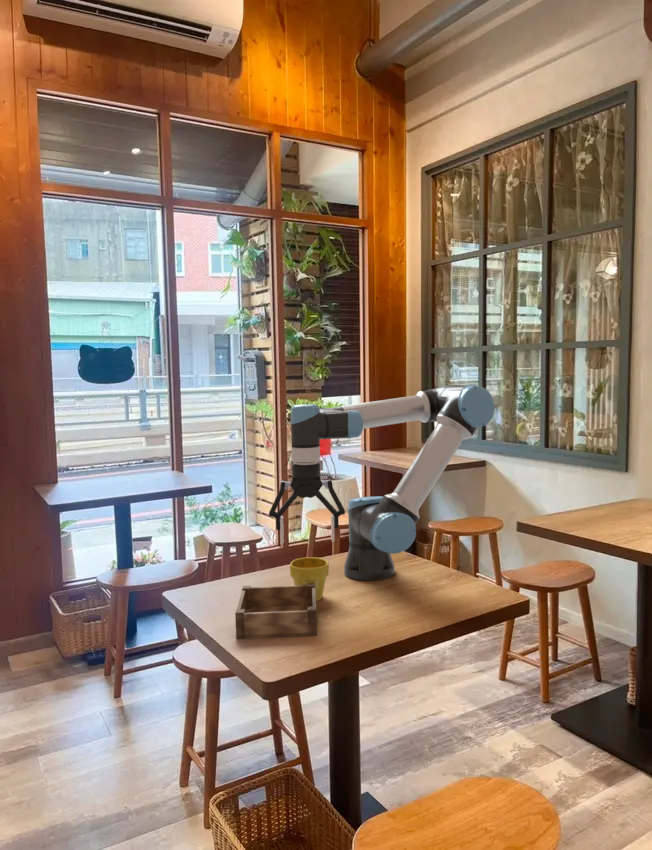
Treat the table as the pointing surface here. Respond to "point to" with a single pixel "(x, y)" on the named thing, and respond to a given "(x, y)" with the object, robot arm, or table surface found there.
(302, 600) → the walnut crate
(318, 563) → the plant pot
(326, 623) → the table surface
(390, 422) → the robot arm
